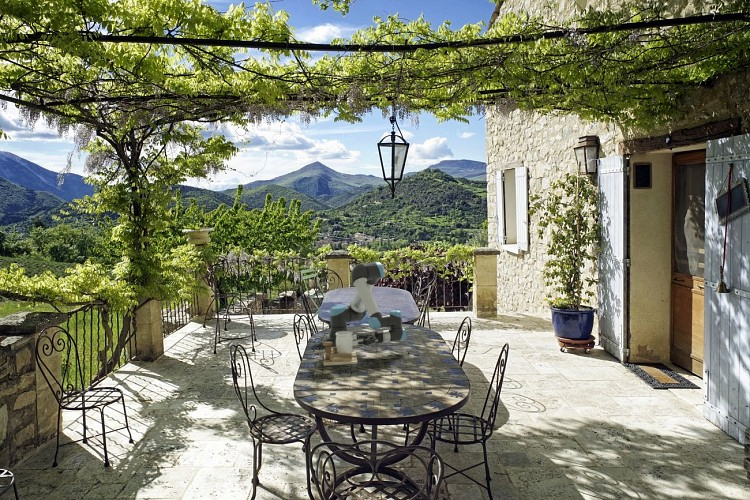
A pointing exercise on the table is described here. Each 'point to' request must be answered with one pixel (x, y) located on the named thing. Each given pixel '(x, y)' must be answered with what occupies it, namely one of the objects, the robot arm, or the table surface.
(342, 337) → the jar
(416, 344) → the table surface
